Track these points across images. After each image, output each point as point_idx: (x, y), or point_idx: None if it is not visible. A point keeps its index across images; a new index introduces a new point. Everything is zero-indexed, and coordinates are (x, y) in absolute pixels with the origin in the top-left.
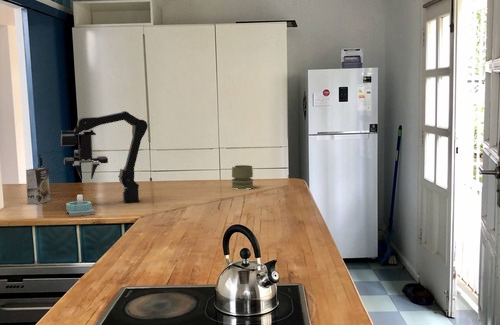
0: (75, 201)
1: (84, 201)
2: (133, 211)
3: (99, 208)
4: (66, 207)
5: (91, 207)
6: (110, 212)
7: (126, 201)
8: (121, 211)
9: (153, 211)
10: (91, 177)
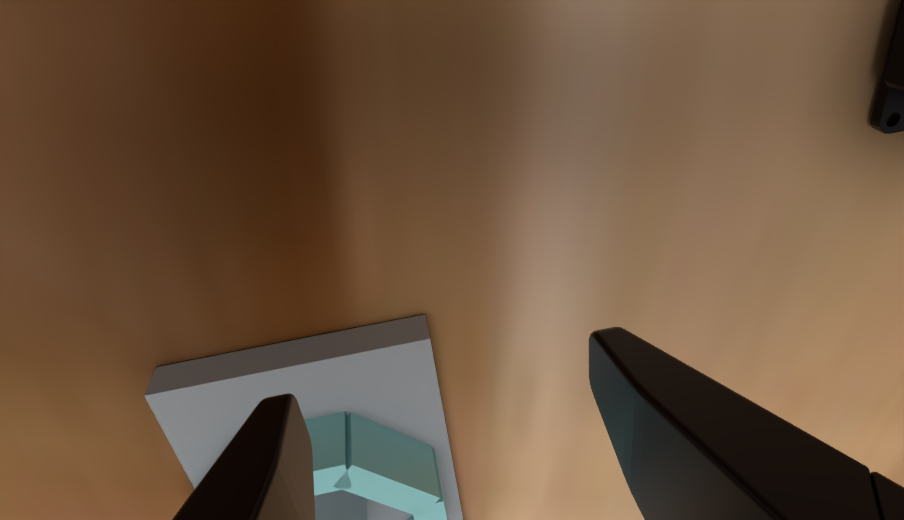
0: None
1: (379, 496)
2: None
3: (523, 346)
4: (151, 399)
5: (446, 465)
6: (591, 502)
7: (898, 101)
8: None
9: None
10: (611, 437)
